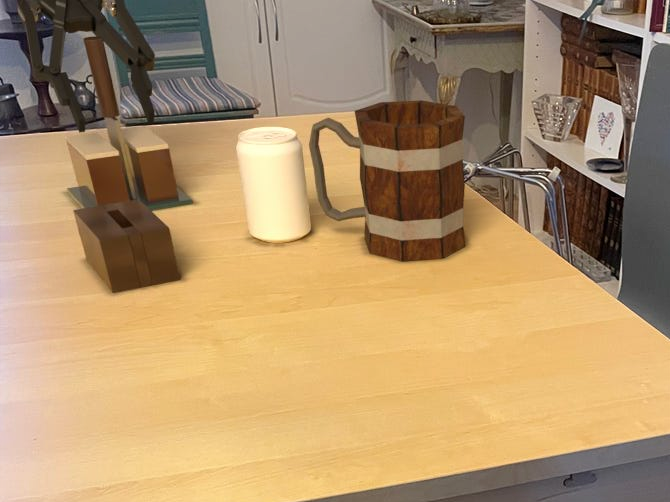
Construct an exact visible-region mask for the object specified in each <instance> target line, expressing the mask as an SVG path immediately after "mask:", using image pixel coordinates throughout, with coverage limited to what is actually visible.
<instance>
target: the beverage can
mask: <svg viewBox="0 0 670 502" xmlns="http://www.w3.org/2000/svg"><path fill="white" fill-rule="evenodd" d="M237 136H238V137H237V138H238V141H237V143H236V146H235V150H236V151H235V152H236V157H237V163H238V170H239V174H240V175H239V177H240V182H241V183H240V184H241V190H242V195H243V203H244V208H245V215H246V223H247V229H248V232H249V235H251V236H252V237H254V239H255V238H256V239H258V240H260V241H263V242H266V243H273V244H274V243H276V244H279V243H280V244H281V243H283V244H284V243H290V242H294V241H297V240H300V239H301V238H303V237H304V236H307V234H309V233H310V232H311V230H312V223H311V215H310V206H309V196H308V189H307V180H306V179H307V178H306V169H305V161H304V151H303V143H302V142H301V140H300V139H299V138H298V133H297V131H295V130H294V129H291V128H287V127H282V126H261V127H253V128H249V129H245V130H243V131H241V132H239V133H238V135H237Z"/></svg>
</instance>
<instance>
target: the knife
mask: <svg viewBox="0 0 670 502" xmlns="http://www.w3.org/2000/svg"><path fill="white" fill-rule="evenodd" d="M83 44H84V48H85V51H86V52H85V53H86V56H87V60H88V64H89V69H90V73H91V78H92V82H93V87H94V91H95V94H96V99H97V103H98V106H99V107H98V108H99V111H100V116H101V117H102V118H103V119H104V122H105V126H106V131H107V134H108V141H109V143H110V144H111V145H112V146H113V147H114V148H116V149H117V150H118V151H119V156H120V160H121V164H122V169H123V173H124V177H125V182H126V186H127V190H128V195H129V196H130V197H131V198H132V199H137V197H136V193H135V189H134V184H133V180H132V175H131V171H130V167H129V162H128V158H127V153H126V149H125V144H124V140H123V136H122V131H121V129H122V127H121V122H120V120H119V119H118V118H117V117H119V116H121V113H120V109H119V105H118V100H117V96H116V91H115V86H114V82H113V77H112V73H111V69H110V65H109V61H108V55H107V52H106V47H105V42H104V41H103V38H102V37H96V35H94V36H86V37H83Z"/></svg>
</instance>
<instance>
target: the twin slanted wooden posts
mask: <svg viewBox="0 0 670 502" xmlns="http://www.w3.org/2000/svg"><path fill="white" fill-rule="evenodd" d="M121 131H122V136H123V140H124V144H125V149H126V153H127V158H128V162H129V167H130V171H131V175H132V180H133V184H134V189H135V193H136V197H137V199H132V198H131V197H130V196H129V195H128V190H127V186H126V182H125V177H124V173H123V169H122V164H121V160H120V156H119V151H118V150H117V149H116V148H114V147H113V146H112V145H111V144H110V141H109V140H107V139H105V138H104V137H103V136H102V135H101V134H100V133H99V132H97V131H93V132H87V133H86V132H85V133H79V134H71V135H65V141H66V145H67V150H68V153H69V156H70V160H71V163H72V169H73V170H74V176H75V179H76V183H77V186H73V187H67V188H66V191H67V193H68V194H69V196H70V197H71V198H72V199H73V200H74V202H76V203H77V204H78V206H79V207H80V209H82V208H89V207H95V206H101V205H107V204H113V203H119V202H126V201H132V200H138V199H139V200H140V201H141V202H142V203H143V204H144V205H146V206H147V207H148V208H149V209H150V210H151V211H156V210H162V209H163V210H164V209H168V208H175V207H180V206H181V207H182V206H186V205H192V204H193V198H192V197H190V195H187V194H186V193H185V192H184V191H182V189H181V188H180V187H178V186H177V181H176V177H175V172H174V166H173V162H172V156H171V151H170V146H169V142H167V141H165V140H164V139H163V138H161V137H160V136H159V135H158V134H156V133H154V131H152V130H150V128H148V127H147V126H146V125H140V126H133V127H125V128H121Z"/></svg>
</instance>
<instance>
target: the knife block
mask: <svg viewBox="0 0 670 502" xmlns="http://www.w3.org/2000/svg"><path fill="white" fill-rule="evenodd" d="M73 215H74V219H75V222H76V226H77V230H78V233H79V237H80V241H81V245H82V248H83V252H84V256H85V260H86V261H87V262H88V264H89V265H90V267H91V268H92V269H93V270H94V272H96V274H97V275H98V276H99V278H100V279H101V280H102V281H103V283H104V284H105V285H106V286H107V288H108V289H109V290H110V291H111V292H112V293H113V294H114V293H119V292H124V291H125V292H126V291H129V290H135V289H139V288H144V287H149V286H150V287H151V286H156V285H159V284H164V283H170V282H174V281H175V282H176V281H179V280H181V278H180V272H179V268H178V263H177V258H176V254H175V250H174V244H173V238H172V234H171V230H170V229H171V228H170V227H169V226H168V225H167V224H166V223H165V222H164V221H163V220H162V219H161V218H159V216H157V215H156V214H155V212H154V211H153V210H150V209H149V208H148V207H147V206H146V205H144V204H143V203H142V202H141V201H140V200H139V199H138V200H132V201H126V202H119V203H113V204H107V205H101V206H95V207H89V208H77V209H73Z"/></svg>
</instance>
